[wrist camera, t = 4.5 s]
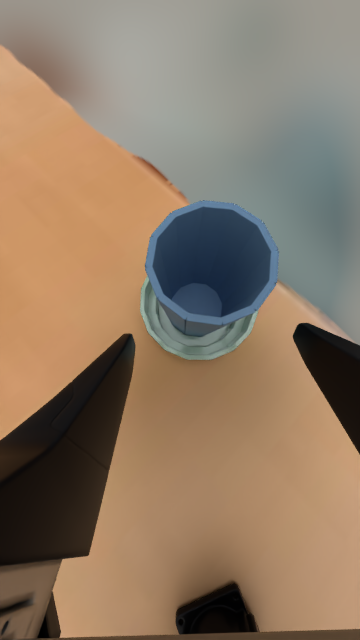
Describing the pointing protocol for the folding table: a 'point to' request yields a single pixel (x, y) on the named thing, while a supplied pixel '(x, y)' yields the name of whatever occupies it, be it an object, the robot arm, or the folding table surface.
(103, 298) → the folding table surface
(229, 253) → the tumbler
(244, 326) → the bowl
